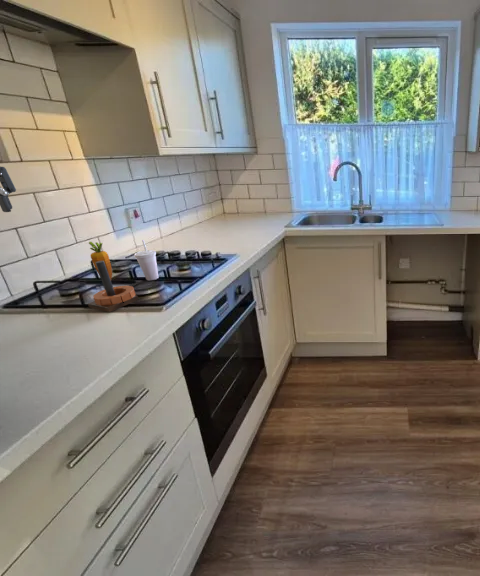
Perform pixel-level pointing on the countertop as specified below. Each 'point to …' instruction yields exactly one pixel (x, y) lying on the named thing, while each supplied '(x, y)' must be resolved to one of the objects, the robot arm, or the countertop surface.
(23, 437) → the countertop surface
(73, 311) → the countertop surface
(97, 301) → the hang ring
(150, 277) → the smoothie
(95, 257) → the carrot
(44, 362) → the countertop surface
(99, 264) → the peg stand
